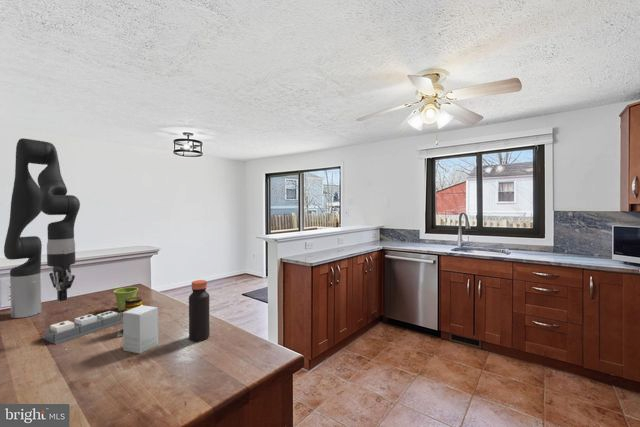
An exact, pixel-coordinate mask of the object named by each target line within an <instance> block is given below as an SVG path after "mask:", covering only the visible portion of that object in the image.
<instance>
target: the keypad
mask: <svg viewBox="0 0 640 427" xmlns="http://www.w3.org/2000/svg"><path fill="white" fill-rule="evenodd" d="M112 311H113V310H112ZM113 312H116V313H117V315H115V316H112V317H109V318H105V319H101V318H98V317H97V321H95V322H92V323H89V324H85V325H82V326H80V325H77V324H75V321H72V322H73V323H74V328H72V329H69V330H66V331H62V332H59V333H54V332H52V331H50V328H48V329H45V330H44V335H43V336H42V337H41V338H42V339H43V340H46V341H47V342H49V343H51V344H54V345H60V344H62V343H65V342H67V341H70V340H74V339H76V338H80V337H82V336H85V335H89V334H92V333H94V332H95V333H96V332H98V331H101V330H103V329H106V328H108V329H109V328H110V327H113V326H116V325H120V324H123V313H119V312H117V311H113ZM97 315H98V314H96V315H95V316H97Z"/></svg>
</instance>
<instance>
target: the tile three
mask: <svg viewBox="0 0 640 427" xmlns="http://www.w3.org/2000/svg"><path fill="white" fill-rule="evenodd" d="M116 312H117V311H114V312H113V310H108V311H105V312H102V313H98V314H96V315H97V317H98V318H101V319H105V318H109V317H112V316H115V315H117V313H118V312H117V313H116Z"/></svg>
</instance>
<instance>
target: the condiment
mask: <svg viewBox="0 0 640 427" xmlns="http://www.w3.org/2000/svg"><path fill="white" fill-rule="evenodd" d="M125 303H126V304H125V308H124V310H123V312H125V311H128V310H131V309H133V308H136V307H139V306H142V305H143V298H142V297H140V296H136V297H133V298H129V299H127V300H126V301H125ZM116 332H117V336H116V337H117V338H118V337H123V328H117V331H116Z"/></svg>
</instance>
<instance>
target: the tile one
mask: <svg viewBox="0 0 640 427" xmlns="http://www.w3.org/2000/svg"><path fill="white" fill-rule="evenodd" d="M73 322H74V321H71V320H64V321H61V322H58V323H57V322H56V323H54V324H51V325H49V329H50V331H52V332H54V333H59V332H62V331H66V330H69V329H72V328H74V323H73Z"/></svg>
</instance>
